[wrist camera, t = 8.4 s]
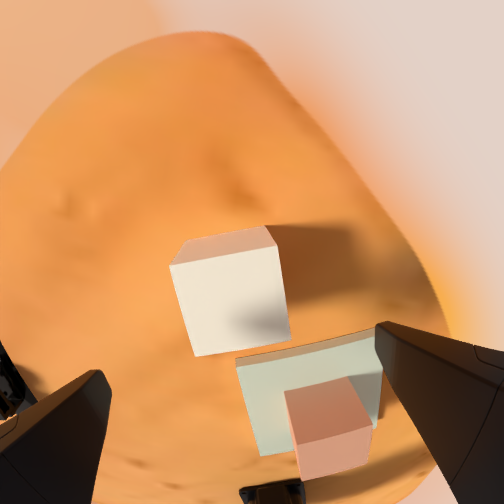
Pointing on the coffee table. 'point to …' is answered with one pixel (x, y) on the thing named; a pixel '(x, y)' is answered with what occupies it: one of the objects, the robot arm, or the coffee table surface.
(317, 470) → the terracotta brick
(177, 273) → the cream brick
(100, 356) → the coffee table surface
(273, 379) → the plate
